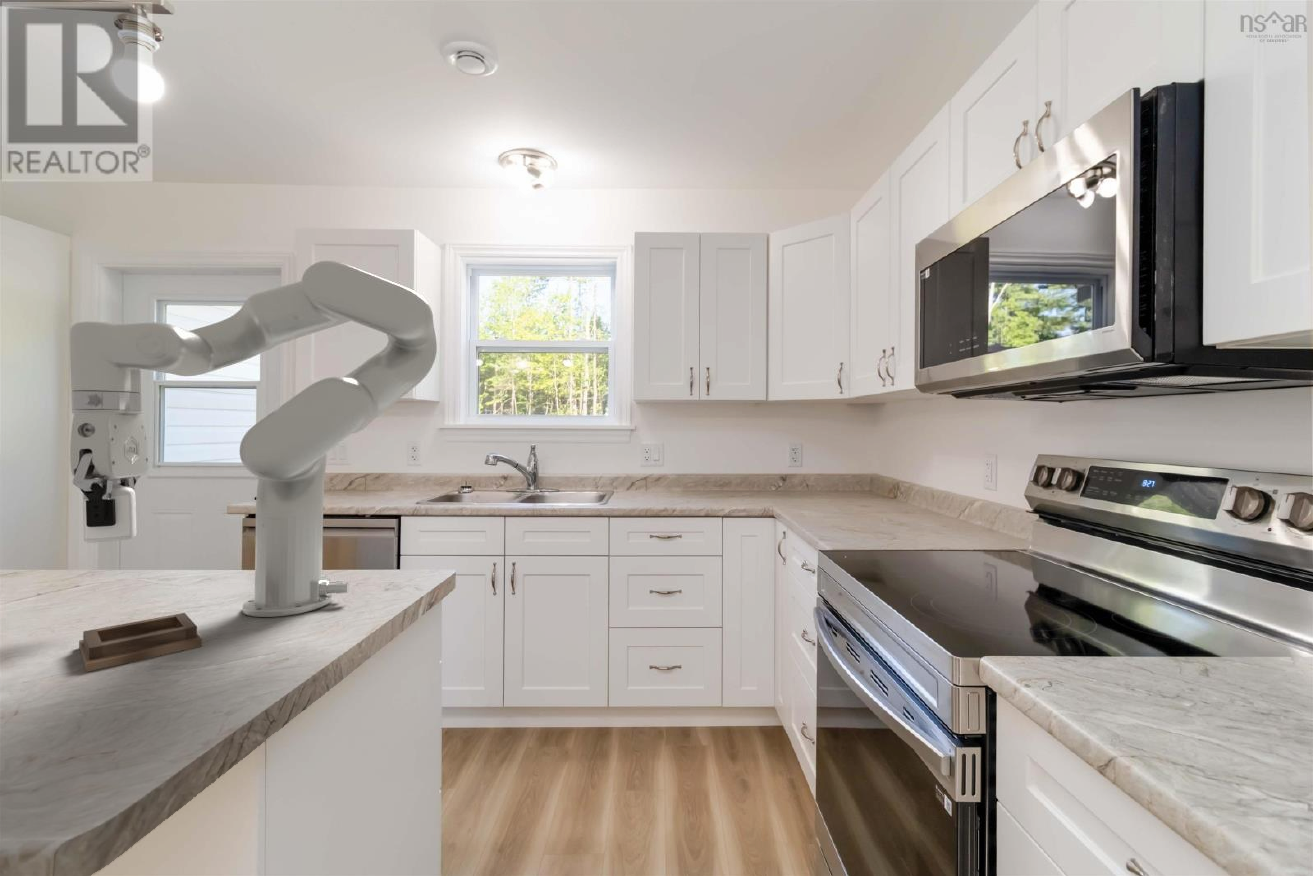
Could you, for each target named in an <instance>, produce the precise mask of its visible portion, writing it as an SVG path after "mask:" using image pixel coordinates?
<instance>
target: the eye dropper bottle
mask: <svg viewBox="0 0 1313 876" xmlns="http://www.w3.org/2000/svg"><path fill="white" fill-rule="evenodd" d="M101 478H105V476H98V478H97V479H101ZM119 483H121V479H120V478H119V479H113V483H112V496H111V499H115V516H116V524H115V525H113V526H103V527H88V526H87V523H86V501H85V500H84V499H83V498H82V509H83V510H82V513H83V514H82V515H83V517H82V518H83V541H84V542H85V543H87V544H88V543H90V544H91V543H93V544H94V543H109V542H119V541H120V542H121V541H127V540H131V539H133V538H135V537H137V533H138V532H137V531H138V530H137V503H136V502H137V499H136V497H137V496H136V490H135V491H134V490H133V489H132V488H130V487H126V486H121V485H119ZM99 485H100V486H101V487H102V488H103V483H99Z"/></svg>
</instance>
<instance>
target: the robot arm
mask: <svg viewBox="0 0 1313 876" xmlns="http://www.w3.org/2000/svg"><path fill="white" fill-rule="evenodd" d="M348 322H353V323H356V324H360V325H362V326H364V327H366V328H367V327H368V328H370V329H372V330H376V331H377V332H381V333H383V334H386V336H387V338H388V341H387V344H386V345H385V346H384V348H383V349H382V350H381V351H378V353H376V354H374V355H372V356H371V357H370V358H367V360H365V361H364V362H363V363H362V364H361V365H359V366H358V367H357V368H355V369H354V370H352V371H350V372H349V373H348V374H345V375H344V376H329V377H326V378H323V379H320V380H318V381H316V382H314V383H312V384H310V385H309V386H307V387H306V388H304V389H303V390H301V391H299V393H298V394H296V395H294V396H293V397H292V398H290V399H289V400H288V401H286V402H285V403H283V404H282V405H281V406H279V407H277V408H275V410H273V411H272V412H271V413H269V414H267V415H265V417H264V418H262V419H261V420H259V421H258V422H257V423H255V424H254V425H252V427H250V428H249V429H248V431H246V433H245V434H244V435H243V437H242V439H241V442H240V444H239V457H240V460H241V463H242V465H243V467H244V468H245V469H246V470H247V471H248V472H249V473H250V474H252V475H254V476H256V477H258V481H257V485H256V486H257V487H256V488H257V489H256V497H255V498H256V500H255V502H256V503H255V538H254V539H255V541H254V543H255V544H254V545H255V548H254V549H255V552H254V553H255V554H254V555H255V556H254V557H255V558H254V597H252V598H250V599H248V600H246V601H245V602H243V604H242V613H243V614H244V615H247V616H250V617H256V618H257V617H258V618H269V617H270V618H272V617H273V618H274V617H284V616H292V615H297V614H298V615H299V614H303V613H307V612H311V611H314V610H319V609H320V608H323V607H324V606H326V605H328V604H330V603H331V602H332V601H333V594H336V595H337V594H349V592H350V585H351V584H350V581H346V580H345V579H342V580H341V579H339V580H331V579H328V573H327V572H325V573H324V572H323V549H324V548H323V546H324V545H323V543H324V542H323V541H324V540H323V537H324V526H323V525H324V495H325V492H324V491H325V477H326V469H327V467H326V466H327V458H328V456H327V455H328V454H327V453H329V452H330V451H331V450H333V449H334V448H335V447H336V446H339V444H340V443H342V442H343V441H344V440H346V439H347V438H349V436H351V435H353V434H357V433H359V432H361V431H363V430H365V429H366V428H367V427H368V426H369V425H370V424H371V423H372V422H374V420H375V419H377V418H378V417H379V416H380V415H382V413H384V412H386V411H387V409H389V408H391V407H392V406H393V405H394V404H395V403H397V402H398V401H399V400H400V399H401V398H403V397H404V396H405V395H406V394H408V393H409V392H410V391H411V390H413V389H414V388H415V387H416V386H417V385H419V384H420V383H421V382H422V381H423V380H424V379H425V378H426V377H427V376H428V374H429V373H430V371H431V370H432V368H433V365H434V363H435V361H436V357H437V350H438V349H437V345H438V343H437V336H436V331H435V324H434V323H435V322H434V313H433V311H432V308H431V306H430V304H429V303H428V301H427V300H426V299H425V298H424V297H423V296H422V295H420V294H419V293H417V292H415V291H414V290H412V289H410V288H408V287H405V286H403V285H401V284H398V283H395V282H392V281H390V280H388V279H385V278H382V277H379V276H377V275H374V274H372V273H371V272H366V271H364V270H362V269H360V268H358V267H354V266H352V265H350V264H347V263H343V262H340V261H335V260H321V261H318V262H315V263H313V264H312V265H310V266H309V267H308V268H306V269H305V271H304V272H303V274H302V277H301V280H300V281H296V282H293V283H289V284H285V285H282V286H280V287H275V288H271V289H269V290H263V291H261V292H257V293H255V294H252V295H250V296H248V297H247V299H246V300H245V301H244V303H243V304H242V306H241V307H240V309H239V310H238V311H237V312H236V313H234V314H233V315H231V316H229V317H227V318H226V319H223V320H221V321H218V322H215V323H212V324H209V325H205V326H202V327H201V326H200V327H198V328H194V329H192V330H191V329H190V330H187V329H184V328H182V327H178V326H175V325H172V324H169V323H164V322H157V321H156V322H154V321H153V322H151V321H150V322H138V323H137V322H136V323H123V324H122V323H121V324H120V323H114V322H107V321H79V322H76V323H74V324H73V325H72V326H71V327H70V330H69V352H70V353H69V356H70V357H69V358H70V359H69V360H70V363H69V364H70V365H69V366H70V387H71V388H70V389H71V392H70V393H71V395H70V396H71V397H70V398H71V414H73V418H72V424H71V432H70V441H69V442H70V445H69V446H70V447H69V449H70V450H69V458H70V459H69V462H70V471H71V476H73V479H72V485H74V486H76V487H77V488H79V489H80V491H81V492H82V494H83V495H82V500H83V499H84V500H85V501H86V523H87V526H88V527H103V526H113V525H115V524H116V516H115V499H111V496H112V483H113V479H119V478H120V479H121V483H119V485H121V486H126V487H130V488H132V489H133V490H134V491H135V492H136V490H135V489H136V488H135V486H136V484H137V481H138V480H139V479H140V478H141V476H144V475H145V474H147V473H148V471H149V454H148V444H147V435H146V430H145V424H144V420H143V417H142V414H143V413H142V412H143V411H142V409H143V408H142V382H141V379H142V378H141V370H146V371H147V370H148V371H152V372H154V371H155V372H159V373H165V374H172V375H175V376H181V377H195V376H199V375H200V376H201V375H203V374H204V375H205V374H208V373H210V372H214V371H217V370H221V369H224V368H227V367H231V366H233V365H236V364H238V363H242V362H244V361H247V360H249V359H251V358H254V357H256V356H258V355H260V354H262V353H265V352H266V351H270V350H272V349H273V348H275V347H277V346H279V345H280V344H284V343H287V342H290V341H293V340H297V339H299V338H303V337H306V336H309V335H312V334H314V333H317V332H321V331H324V330H328V329H331V328H333V327H336V326H337V327H338V326H340V325H343V324H345V323H348ZM98 476H105V478H101V479H98ZM99 483H103V488H102V487H101V486H100V485H99Z"/></svg>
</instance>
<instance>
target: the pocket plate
mask: <svg viewBox="0 0 1313 876" xmlns="http://www.w3.org/2000/svg"><path fill="white" fill-rule="evenodd" d="M82 632H83V633H82V639H79V641H78V649H79V652H80V655H81V659H82V663H83V665H84V669H85V672H86V673H88V672H89V673H90V672H94V671H98V670H101V669H102V668H103V669H106V668H110V667H114V666H119V665H120V666H121V665H124V664H128V663H134V662H137V661H142V659H143V660H146V659H151V657H152V658H155V657H159V656H160V655H161V656H165V655H168V654H173V653H177V652H183V651H187V650H191V649H192V650H193V649H195V648H200V647H202V646H203V642H202V641H203V638H201V636H200V635H199V634H198V626H197V625H196V624H195V622H194V621H193V620H192V619H191V618H190V617H189V616H188V614H186V613H185V612H182V613H181V612H180V613H176V614H171V615H170V614H169V615H165V616H160V617H155V618H149V619H144V620H139V621H133V622H132V621H131V622H127V623H122V624H116V625H110V626H105V627H100V628H99V627H98V628H95V629H89V630H83V631H82ZM182 650H183V651H182ZM97 669H98V670H97Z"/></svg>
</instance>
